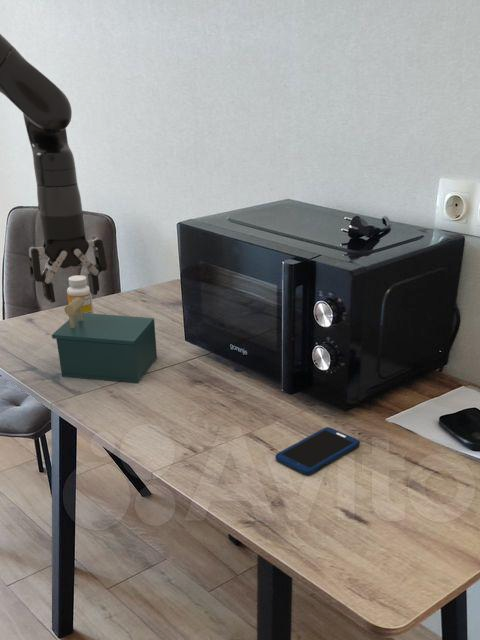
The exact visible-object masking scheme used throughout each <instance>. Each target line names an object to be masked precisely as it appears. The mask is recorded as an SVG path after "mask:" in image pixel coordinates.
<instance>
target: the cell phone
mask: <svg viewBox="0 0 480 640" xmlns="http://www.w3.org/2000/svg"><path fill="white" fill-rule="evenodd" d="M360 442H361V441H360V440H359V439H357V438H355V437H354V436H351V435H348V434H346V433H344V432H341V431H340V430H337V429H335V428H333V427H330V426H325V427H324V428H322V429H320V430H318V431H315V432H314V433H313V434H311V435H309V436H307V437H305V438H303V439H301V440H299V441H297V442H296V443H294V444H292V445H290V446H288V447H287V448H285V449H283V450H281V451H279V452H277V453H276V454H275V455H274V456H275V460H276V461H278V462H280V463H281V464H284V465H285V466H288V467H289V468H291V469H293V470H295V471H297V472H300V473H301V474H304V475H313V473H316V472H318V471H319V470H321V469H322V468H323V467H326V466H327V465H329V464H330V463H332V462H334V461H335V460H338V459H339V458H341V457H343V456H344V455H345V454H347V453H349V452H351V451H352V450H354V449H356V448H357V447H358V446H360V445H361V443H360Z"/></svg>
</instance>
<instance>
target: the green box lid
mask: <svg viewBox="0 0 480 640" xmlns="http://www.w3.org/2000/svg"><path fill="white" fill-rule="evenodd" d="M83 305H84V301H83V299H82V298H80V297H77V298H75V299H74V300H73V301H72V302H70V303H68V304H67V305H66V306H65V307H64V313H65V315H67V316H68V318H69V319H68V320H67V321H65V322H64V323H63V324H62V325H61V326H60V327H59V328H58V329H56V330H55V331H54V332H53V333H52V334H51V338H52V339H55V340H56V339H65V340H78V341H90V342H103V343H115V344H128V345H135V344H136V343H137V342H138V340H139V339H140V338H141V337H142V336H143V335H144V333H145V332H146V331H147V330H148V329H149V327H150V326H151V325H152V324H153V323H154V324H155V318H154V317H143V316H142V317H141V316H130V315H115V314H100V313H94V314H90V313H82V309H81V307H82V306H83ZM76 312H77V313H76ZM74 313H76V314H75V315H74V316H73V314H74Z"/></svg>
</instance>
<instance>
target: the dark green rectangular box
mask: <svg viewBox="0 0 480 640" xmlns="http://www.w3.org/2000/svg"><path fill="white" fill-rule="evenodd" d="M55 340H56V346H57V352H58V359H59V364H60V371H61V377H63V378H74V379H75V378H76V379H86V380H87V379H88V380H99V381H110V382H120V383H121V382H122V383H133V384H139V382H141V380H142V378H143V377H144V376H145V375H146V374H147V372H148V371H149V369H150V368H151V367H152V365H153V364H154V363H155V361H156V360H157V358H158V352H157V340H156V327H155V322H154V323H153V324H152V325H151V326H150V327H149V329H148V330H147V331H146V332H145V333H144V335H143V336H142V337H141V338H140V339H139V340H138V342H137V343H136V344H135V345H128V344H115V343H103V342H90V341H78V340H65V339H55Z"/></svg>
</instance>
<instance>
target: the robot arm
mask: <svg viewBox="0 0 480 640" xmlns="http://www.w3.org/2000/svg"><path fill="white" fill-rule="evenodd" d="M0 93H1V94H2V95H4V96H5V97H6V98H7V99H8V100H9V101H10V102H11V103H12V104H13V105H14V106H15V107H16V108H18V110H19V111H21V113H22V115H23V120H24V124H25V129H26V133H27V137H28V141H29V145H30V148H31V152H32V159H33V169H34V176H35V181H36V195H37V197H36V198H37V208H38V212H39V218H40V222H41V223H40V224H41V229H42V237H43V245H42V246H36V247H35V246H33V245H29V246H28V247H27V258H28V266H29V274H30V275H29V276H30V278H31V279H32V280H34V281H35V282H37V283H41V285H42V291H43V296H44V298H45V299H46V300H47V301H48V302H50V303H56V296H55V291H54V283H53V282H52V281H53V278H54V277H55V275H57V273H59V270H60V268H61V269H67V268H70V267H75V268H76V267H79V266H80V265H82V266H83V268H84V269H85V270H86V271H88V273H87V280H88V281H87V283H88V286H89V290H90V293H91V295H92V296H96V295H98V292H100V282H99V281H100V280H99V274H100V273H102V272H105V271H107V270H108V264H107V259H106V252H105V247H104V241H103V240H102V239H101V238H99V237H96V236H93V237H92V238H91V239H87V238H86V230H85V221H84V214H83V206H82V205H83V204H82V196H81V193H80V189H79V185H78V175H77V168H76V162H75V157H74V153H73V151H72V149H71V147H70V145H69V142H68V141H69V140H68V134H67V127H68V126H69V125H70V123H71V120H72V114H73V111H72V106H71V102H70V100H69V98H68V97H67V95H66V94H65V93H64V91H62V90H61V89H60V88H59V86H57V85H56V84H55V83H54V82H53V81H51V80H50V78H48V77H47V76H46V75H45V74H44V73H42V72H41V71H40V70H38V69H37V68H36V67H35V66H34V65H32V63H30V62H29V61H28V60H27V59H25V58H24V56H23V55H22V54H21V53H20V52H19V51H18V50H17V49H16V47H15V46H13V44H11V43H10V41H9V40H7V39H6V37H4V36H3V35H2V34H1V33H0ZM89 248H90V250H91V251H93V254H94V260H95V264H93V263H92V261H90V259H88V258H87V256H86V254H87V252H88V250H89ZM43 254H44V255H45V256H46V257H47V260H46V262H45V264H44V269H43V270H42V272H41V263H40V261H41V260H42V258H43Z"/></svg>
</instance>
